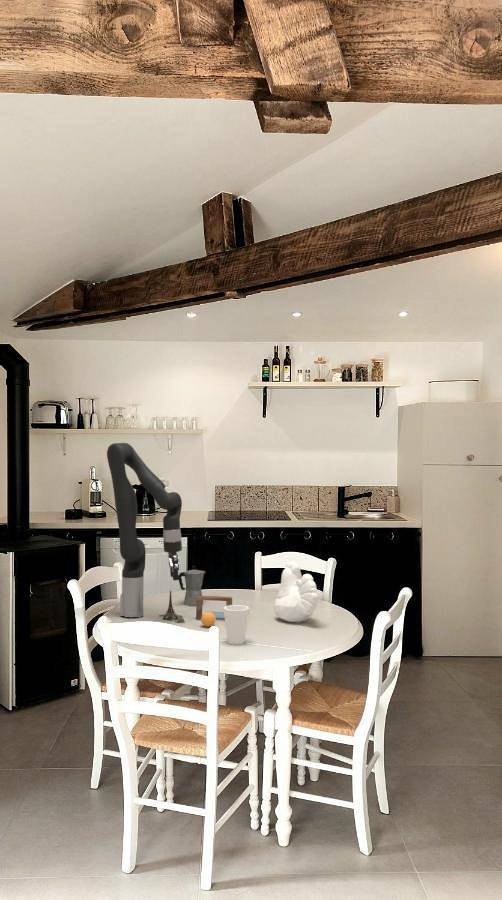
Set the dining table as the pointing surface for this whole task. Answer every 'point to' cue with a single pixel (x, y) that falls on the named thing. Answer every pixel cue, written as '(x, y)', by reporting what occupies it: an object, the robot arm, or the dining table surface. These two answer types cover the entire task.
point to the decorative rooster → (295, 595)
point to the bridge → (214, 598)
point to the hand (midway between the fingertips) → (174, 578)
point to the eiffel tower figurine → (172, 614)
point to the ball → (208, 619)
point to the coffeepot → (192, 585)
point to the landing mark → (218, 614)
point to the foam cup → (236, 623)
